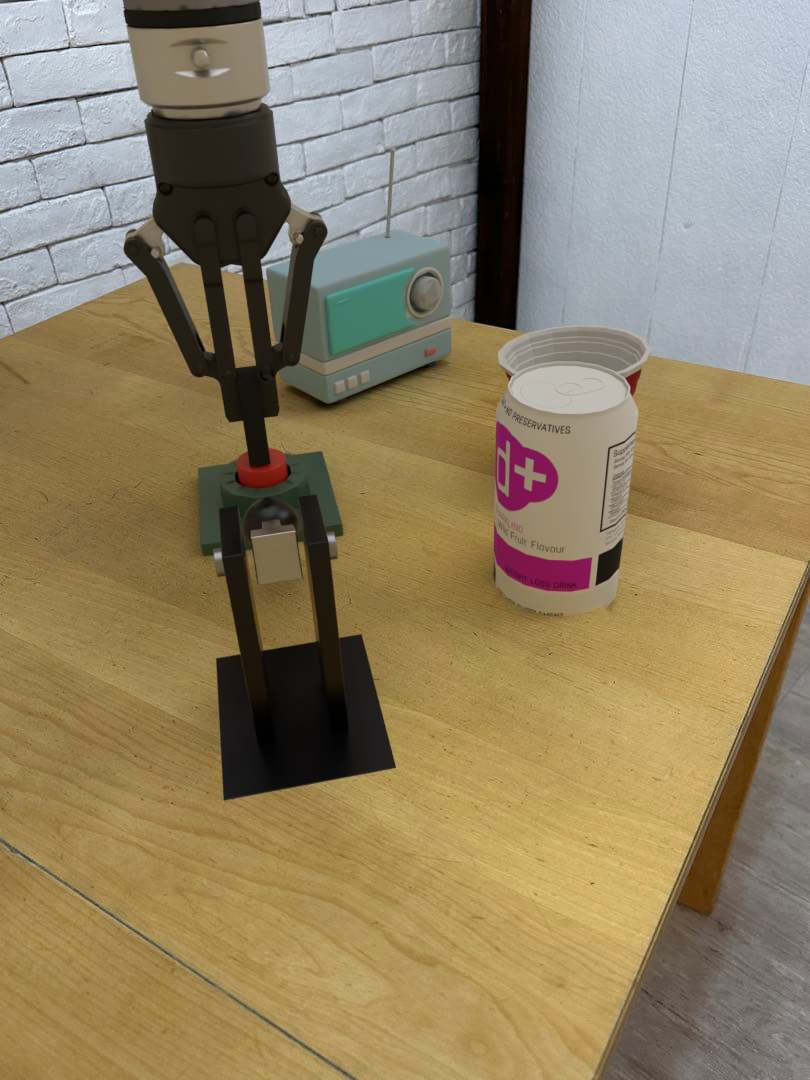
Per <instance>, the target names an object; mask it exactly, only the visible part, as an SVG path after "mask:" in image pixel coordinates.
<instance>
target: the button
mask: <svg viewBox="0 0 810 1080" xmlns="http://www.w3.org/2000/svg"><path fill="white" fill-rule="evenodd" d="M268 448H269V455H270V463H271V464H265V465H257V466H250V463H249V457H248V450H247V451H245V452H243V453H242V454H240V455H239V456H238V457H237V458H236V460H237V462H236V464H237V470H238V476H239V482H240V485H242V486H243V487H249V488H256V489H261V488H268V487H273V486H275V485H278V484H280V483H282V482H284V481H286V479H287V478H288V473H287V466H286V458H285V455H284V453H285V452H283V451H281V450H280V449H277V448H273V447H268Z"/></svg>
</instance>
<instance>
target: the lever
mask: <svg viewBox="0 0 810 1080" xmlns="http://www.w3.org/2000/svg"><path fill="white" fill-rule="evenodd" d="M242 526H243V532H244V535H245V537H246V539H247V541H248V542H249V544H250V545H251V546H252V549H251V552H252V557H253V564H254V570H255V577H256V583H257V584H256V585H257V586H265V585H272V584H279V583H284V582H285V583H286V582H291V581H297V580H303V578H304V575H303V569H302V562H301V556H300V549H299V542H298V541H297V536H298V533H299V526H300V524H299V518H298V515H297V513H296V511H295V509H294V508H293V507H292V506H291V505H290V504H289V503H288V502H286V501H285V500H283V499H280V498H277V497H265V498H262V499H259V500H257V501H255V502H254V503H253V504H252V505H251V506H250V507H249V508H248V509H247V511H246V513H245V515H244V518H243V525H242Z"/></svg>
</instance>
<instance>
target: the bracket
mask: <svg viewBox="0 0 810 1080" xmlns="http://www.w3.org/2000/svg"><path fill="white" fill-rule="evenodd" d="M298 503H299V511H300V519H301V527H302V535H303V549H304V557H305V565H306V573H307V582H308V588H309V596H310V597H309V598H310V604H311V612H312V620H313V626H314V627H313V628H314V635H315V641H311V642H305V643H300V644H299V643H298V644H294V645H287V646H281V647H276V648H275V647H274V648H269V649H264V646H263V641H262V635H261V629H260V623H259V617H258V611H257V606H256V601H255V594H254V588H253V584H252V576H251V571H250V564H249V561H248V554H247V550H246V548H245V542H244V536H243V530H242V525H241V519H240V513H239V507H238V506H231V507H224V508H219V509H218V511H219V525H220V540H221V548H218V549H214V550H213V555H212V556H213V563H214V569H215V574H216V577H217V578H222V577H223V578H224V577H225V581H226V586H227V593H228V598H229V603H230V607H231V612H232V618H233V623H234V628H235V634H236V638H237V643H238V644H237V645H238V649H239V654H234V655H228V656H222V657H216V658H215V664H216V666H215V667H216V681H217V682H216V683H217V684H216V685H217V703H218V717H219V718H218V723H219V734H220V735H219V739H220V757H221V759H220V760H221V777H222V795H223V797H222V798H223V801H224V802H225V801H229V800H235V799H240V798H246V797H249V796H250V797H252V796H257V795H261V794H267V793H272V792H278V791H283V790H289V789H293V788H298V787H303V786H304V787H305V786H309V785H315V784H320V783H324V782H330V781H336V780H342V779H346V778H350V777H357V776H361V775H366V774H372V773H377V772H382V771H388V770H393V769H397V764H396V761H395V757H394V754H393V750H392V747H391V741H390V739H389V734H388V731H387V727H386V723H385V719H384V715H383V711H382V708H381V703H380V699H379V696H378V695H379V694H378V692H377V687H376V685H375V680H374V676H373V673H372V668H371V664H370V662H369V657H368V654H367V649H366V645H365V642H364V639H363V634H362V633H359V634H353V635H348V636H341V637H340V633H339V625H338V624H339V623H338V615H337V605H336V595H335V587H334V578H333V568H332V561H333V560H338V559H339V552H338V551H339V550H338V544H337V538H336V537H335V533H334V532H333V531H332V532H326V529H325V525H324V520H323V516H322V512H321V508H320V504H319V500H318V496H317V494H314V495H307V496H300V497H298Z"/></svg>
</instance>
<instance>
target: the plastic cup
mask: <svg viewBox="0 0 810 1080" xmlns="http://www.w3.org/2000/svg"><path fill="white" fill-rule="evenodd" d="M652 351H653V349H652V348H651V346H650V344H649V343H648V341H647V339H646V338H644V337H641V336H640V335H638V334H635V333H634V332H633V331H630V330H625V329H620V328H615V327H611V326H607V325H588V324H586V325H585V324H575V325H565V326H553V327H547V328H543V329H538V330H535V331H530V332H526V333H524V334H522V335H520V336H517V337H515V338H513V339H511V340H509V341H507V342H506V343H505V344H504V345H503V346H502V347H501V349H499V350H498V352H497V357H498V364H499V367H500V369H501V370H502V371H503V372H504V373H505V374H506V378H507V379H508V383H509V382H510V379H511V377H512V376H514V375H515V374H516V373H518V372H519V371H521V370H522V369H525V368H528V367H531V366H534V365H537V364H542V363H549V362H582V363H588V364H595V365H599V366H602V367H605V368H607V369H610V370H613V371H615V372H616V373H618V374H619V375H621V376H622V377H624V378H625V379H626V381H627V382H628V384H629V386H630V393H631V396H632V398H633V397H634V395H635V393H636V390H637V386H638V381H639V380H640V378H641V375H642V370H643V368H644V367H645V366H646V364H647V363H648V360H649V359H650V356H651V355H652V354H651V353H652Z"/></svg>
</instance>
